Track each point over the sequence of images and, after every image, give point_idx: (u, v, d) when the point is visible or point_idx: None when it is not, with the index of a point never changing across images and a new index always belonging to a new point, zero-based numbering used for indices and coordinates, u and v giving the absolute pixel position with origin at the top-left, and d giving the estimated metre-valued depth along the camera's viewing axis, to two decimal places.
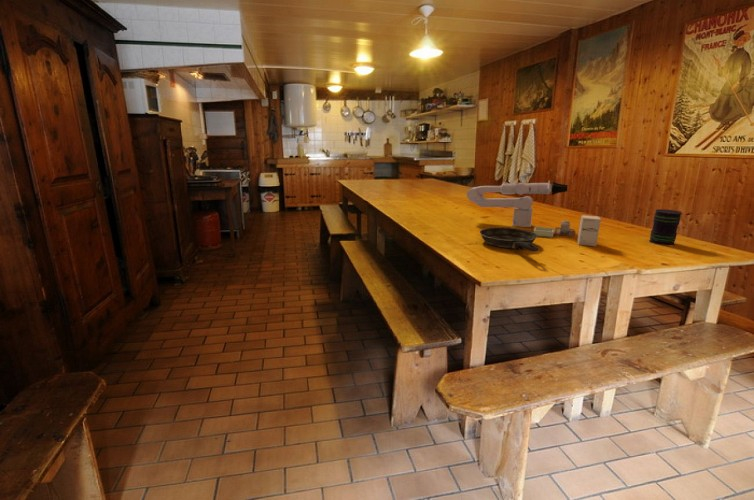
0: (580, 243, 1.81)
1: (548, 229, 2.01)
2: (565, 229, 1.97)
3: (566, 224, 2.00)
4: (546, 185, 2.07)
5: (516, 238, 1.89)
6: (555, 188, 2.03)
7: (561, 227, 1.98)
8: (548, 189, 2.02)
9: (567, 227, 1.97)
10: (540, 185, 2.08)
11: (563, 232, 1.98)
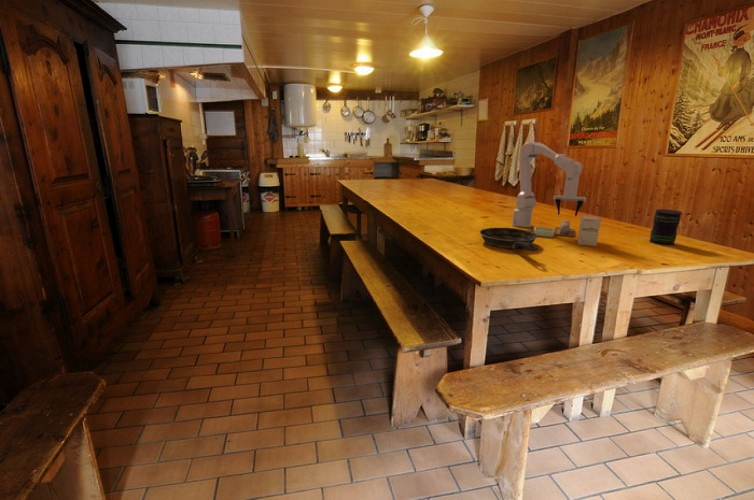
0: (580, 243, 1.81)
1: (548, 229, 2.01)
2: (565, 229, 1.97)
3: (566, 224, 2.00)
4: (565, 195, 1.93)
5: (516, 238, 1.88)
6: None
7: (561, 227, 1.98)
8: (553, 196, 1.97)
9: (567, 227, 1.97)
10: (565, 189, 1.93)
11: (563, 232, 1.98)
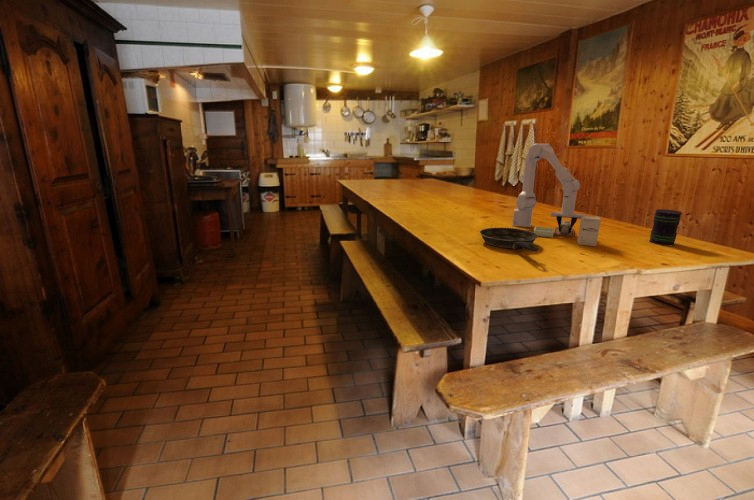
0: (580, 243, 1.81)
1: (548, 229, 2.01)
2: (565, 229, 1.97)
3: (566, 224, 2.00)
4: (562, 212, 1.96)
5: (516, 238, 1.88)
6: None
7: (561, 227, 1.98)
8: (551, 213, 1.99)
9: (567, 227, 1.97)
10: (563, 206, 1.95)
11: (563, 232, 1.98)
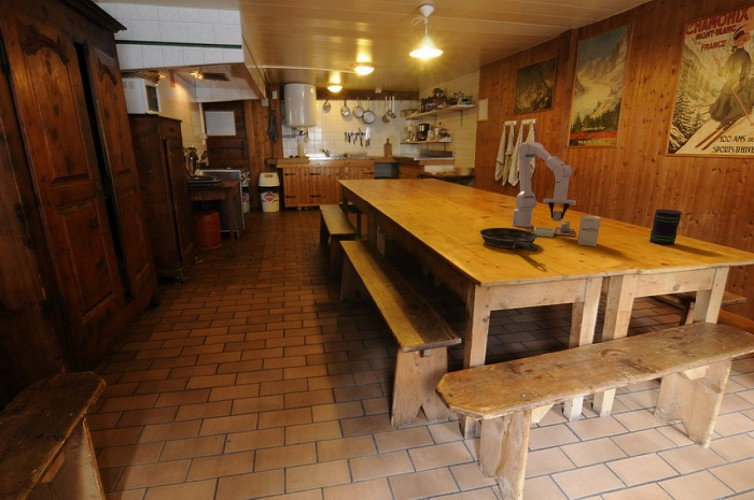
0: (580, 243, 1.81)
1: (548, 229, 2.01)
2: (557, 215, 1.95)
3: None
4: (554, 198, 1.94)
5: (516, 238, 1.88)
6: None
7: (553, 213, 1.96)
8: (543, 199, 1.97)
9: (559, 213, 1.95)
10: (555, 192, 1.93)
11: (555, 218, 1.96)
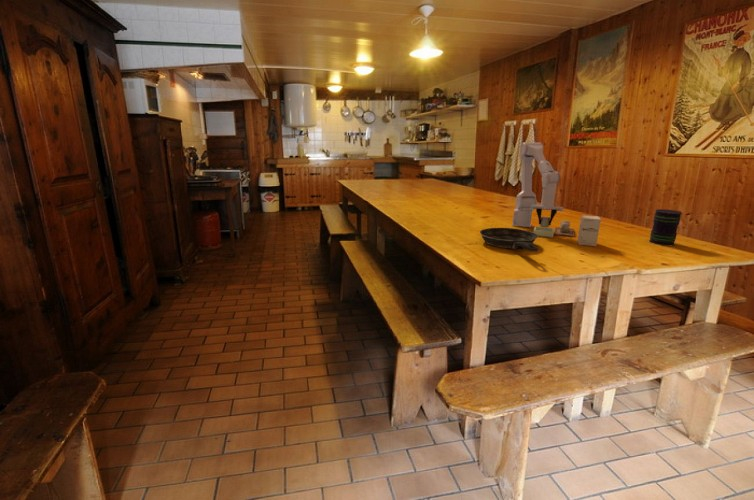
0: (580, 243, 1.81)
1: (548, 229, 2.01)
2: (545, 221, 1.95)
3: None
4: (542, 204, 1.94)
5: (516, 238, 1.88)
6: None
7: (541, 219, 1.97)
8: (531, 206, 1.98)
9: (547, 219, 1.95)
10: (543, 198, 1.93)
11: (543, 224, 1.96)
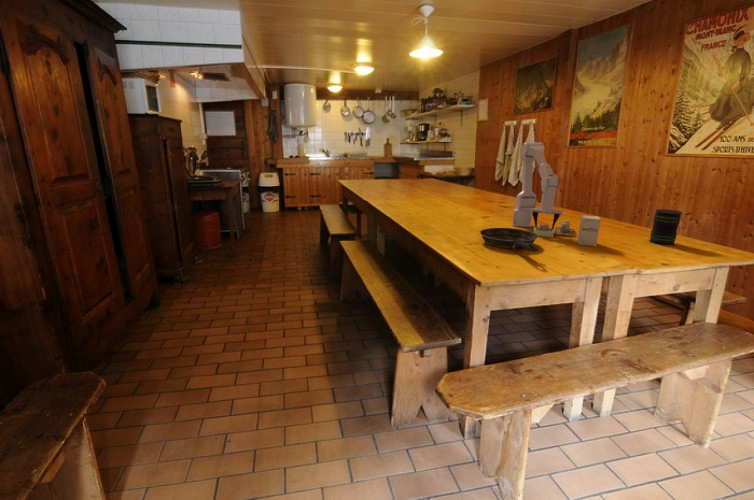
0: (580, 243, 1.81)
1: (548, 229, 2.01)
2: (544, 229, 1.96)
3: (545, 224, 1.99)
4: (541, 208, 1.95)
5: (516, 238, 1.88)
6: None
7: (540, 227, 1.98)
8: (530, 209, 1.98)
9: (546, 227, 1.96)
10: (542, 202, 1.94)
11: None
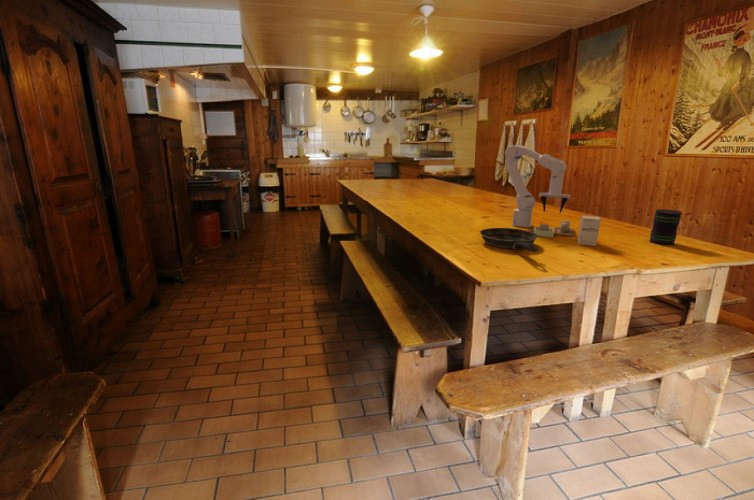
0: (580, 243, 1.81)
1: (548, 229, 2.01)
2: (544, 229, 1.96)
3: (545, 224, 1.99)
4: (550, 192, 2.02)
5: (517, 238, 1.88)
6: None
7: (540, 227, 1.98)
8: (539, 193, 2.06)
9: (546, 227, 1.96)
10: (550, 186, 2.01)
11: None
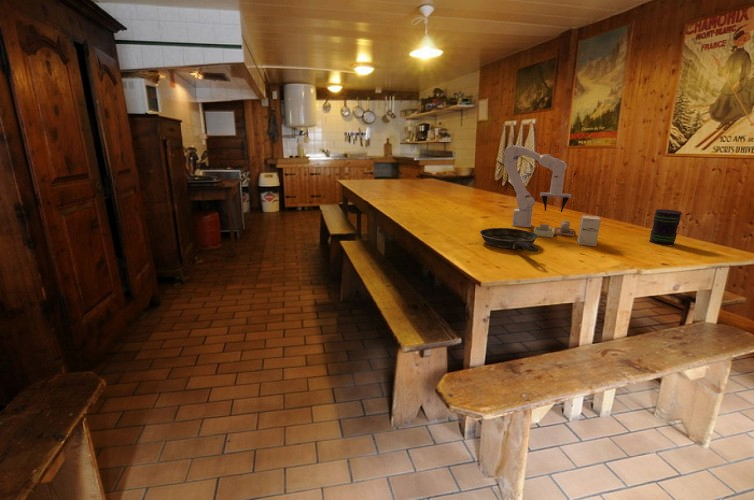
0: (580, 243, 1.81)
1: (548, 229, 2.01)
2: (544, 229, 1.96)
3: (545, 224, 1.99)
4: (551, 192, 2.03)
5: (517, 238, 1.88)
6: None
7: (540, 227, 1.98)
8: (540, 193, 2.07)
9: (546, 227, 1.96)
10: (551, 186, 2.03)
11: None
